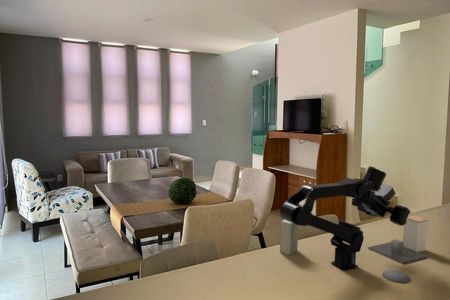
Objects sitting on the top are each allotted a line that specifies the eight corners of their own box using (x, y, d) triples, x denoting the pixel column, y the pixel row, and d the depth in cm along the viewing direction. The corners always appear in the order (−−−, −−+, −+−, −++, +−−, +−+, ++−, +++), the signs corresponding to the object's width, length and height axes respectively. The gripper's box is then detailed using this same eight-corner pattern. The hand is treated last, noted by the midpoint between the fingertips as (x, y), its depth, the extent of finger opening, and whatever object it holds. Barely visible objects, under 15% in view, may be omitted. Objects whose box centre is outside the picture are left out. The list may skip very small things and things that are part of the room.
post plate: (403, 264, 121) (403, 251, 120) (368, 248, 134) (368, 237, 134) (427, 257, 126) (428, 245, 126) (391, 243, 140) (392, 232, 139)
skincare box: (287, 247, 135) (288, 216, 133) (298, 250, 132) (299, 219, 130) (279, 252, 130) (280, 220, 128) (289, 255, 127) (290, 223, 126)
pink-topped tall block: (415, 252, 131) (417, 221, 129) (402, 247, 136) (404, 217, 134) (425, 250, 133) (427, 219, 132) (412, 245, 138) (414, 215, 137)
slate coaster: (398, 285, 106) (398, 283, 106) (376, 274, 113) (376, 272, 113) (415, 279, 109) (415, 278, 109) (393, 269, 117) (393, 268, 117)
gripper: (403, 185, 114) (428, 206, 121) (359, 175, 131) (382, 194, 137) (389, 215, 112) (414, 235, 119) (346, 202, 129) (370, 219, 136)
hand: (394, 219), depth 128 cm, fingers open, 9 cm apart
